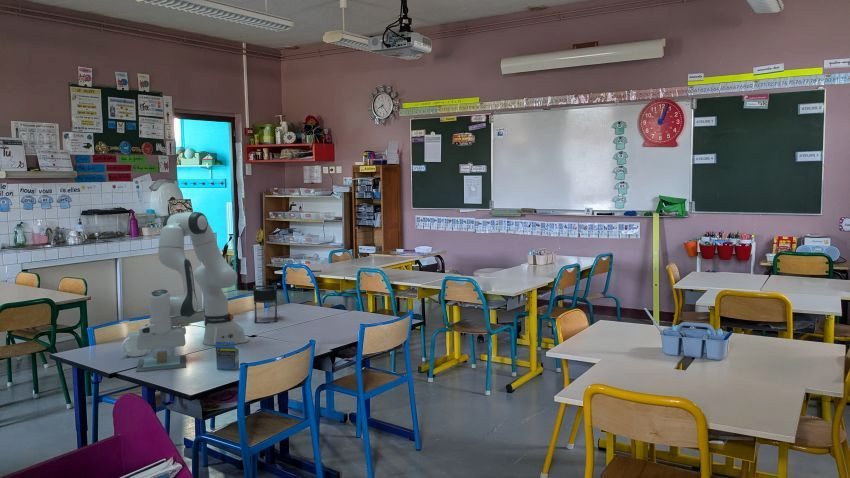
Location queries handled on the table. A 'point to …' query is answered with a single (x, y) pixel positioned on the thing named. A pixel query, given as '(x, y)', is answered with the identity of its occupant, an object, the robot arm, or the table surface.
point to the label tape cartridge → (227, 356)
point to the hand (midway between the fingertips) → (161, 357)
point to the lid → (161, 361)
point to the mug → (132, 345)
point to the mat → (141, 362)
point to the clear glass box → (265, 299)
